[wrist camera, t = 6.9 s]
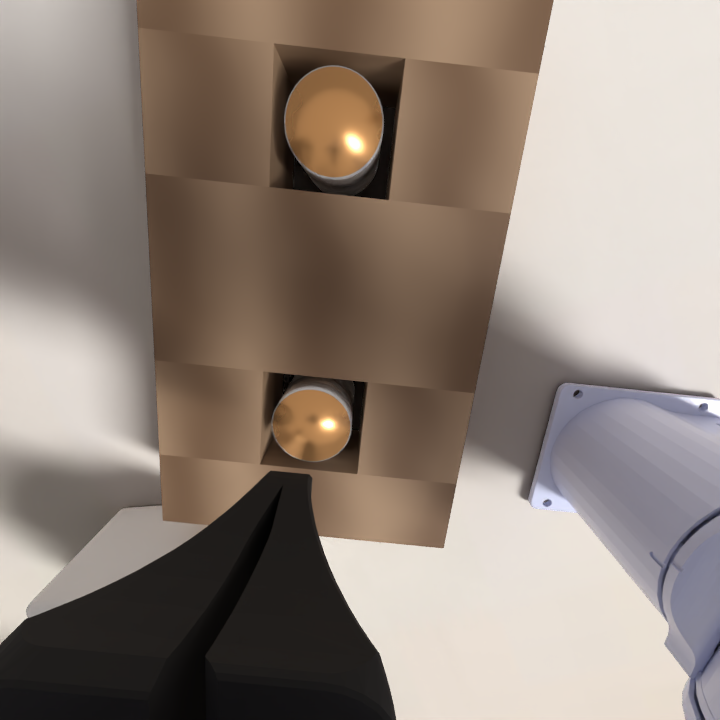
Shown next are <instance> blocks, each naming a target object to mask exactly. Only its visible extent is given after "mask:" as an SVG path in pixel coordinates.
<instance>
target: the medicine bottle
mask: <svg viewBox="0 0 720 720" xmlns="http://www.w3.org/2000/svg"><path fill="white" fill-rule="evenodd" d="M207 526H208V525H201V524H190V523H180V522H170V521H163V516H162V505H158V506H145V507H131V508H123V509H121V510H120V511H119V512H118V513H117V514H116V515H115V516H114V517H113V518H112V519H111V520H110V521H109V522H108V523H107V524H106V525H105V526H104V527H103V528H102V529H101V530H100V531H99V532H98V533H97V534H96V535H95V536H94V537H93V539H92V540H91V541H90V542H89V543H88V544H87V545H86V546H85V547H84V548H83V549H82V550H81V551H80V552H79V553H78V554H77V555H76V556H75V557H74V558H73V559H72V560H71V561H70V562H69V563H68V564H67V565H66V566H65V567H64V568H63V570H62V571H61V572H60V573H59V574H58V575H57V576H56V577H55V578H54V579H53V580H52V581H51V582H50V583H49V584H48V585H47V586H46V587H45V588H44V589H43V590H42V591H41V592H40V593H39V594H38V595H37V596H36V597H35V598H34V599H33V601H32V602H31V603H30V604H29V605H28V607H27V609H26V613H27V617H28V618H30V617H33V616H35V615H38V614H40V613H43V612H45V611H48V610H50V609H53V608H55V607H58V606H60V605H63V604H65V603H68V602H70V601H73V600H75V599H78V598H80V597H82V596H85V595H87V594H89V593H92V592H94V591H96V590H98V589H100V588H102V587H105V586H107V585H109V584H111V583H113V582H115V581H117V580H119V579H121V578H123V577H125V576H127V575H129V574H131V573H133V572H135V571H137V570H139V569H141V568H142V567H144V566H146V565H148V564H149V563H151V562H153V561H155V560H156V559H158V558H160V557H162V556H163V555H165V554H167V553H169V552H170V551H172V550H174V549H175V548H177V547H178V546H180V545H182V544H183V543H185V542H186V541H188V540H189V539H191V538H192V537H193V536H195V535H196V534H198V533H199V532H200V531H202V530H203V529H204V528H206V527H207Z"/></svg>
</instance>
